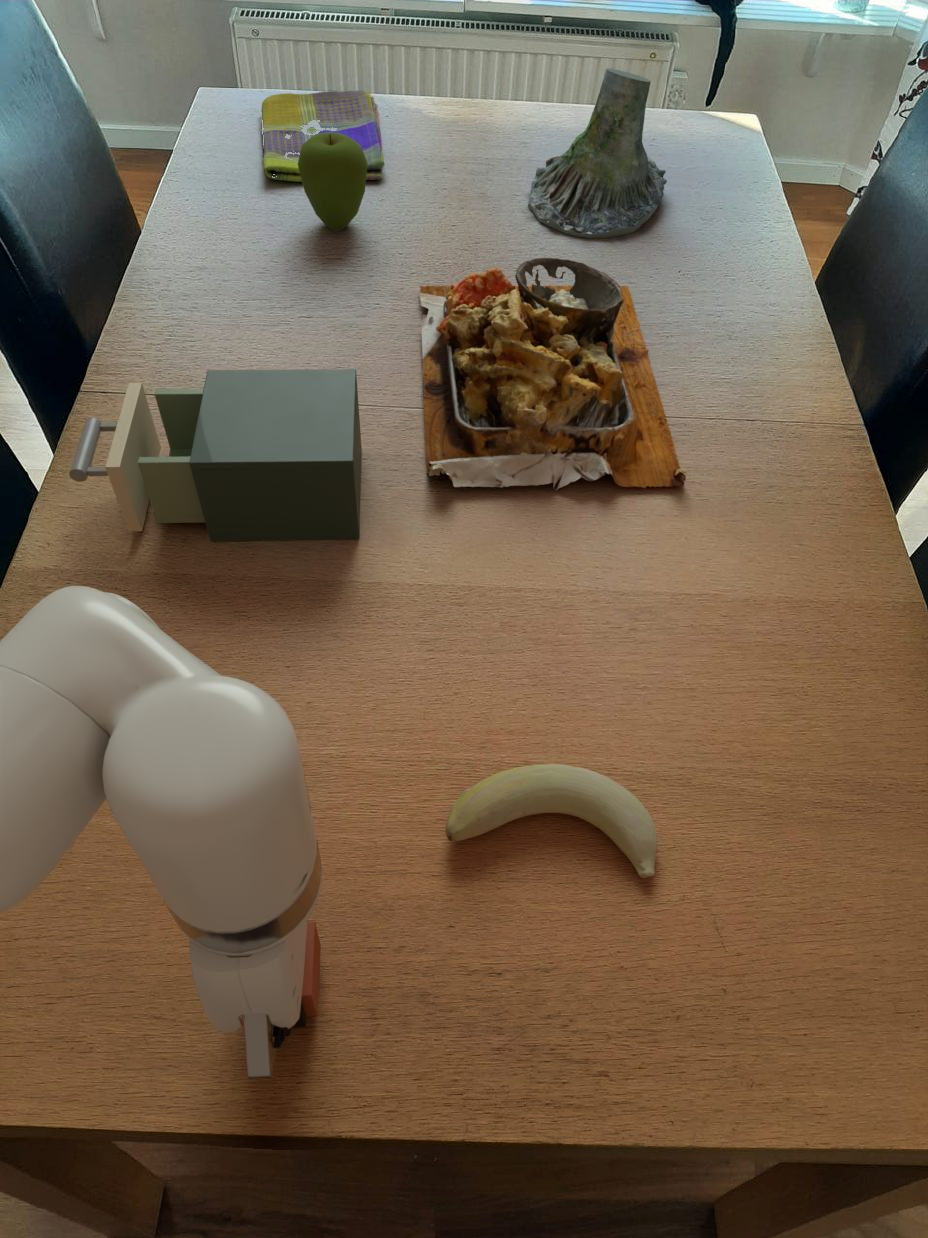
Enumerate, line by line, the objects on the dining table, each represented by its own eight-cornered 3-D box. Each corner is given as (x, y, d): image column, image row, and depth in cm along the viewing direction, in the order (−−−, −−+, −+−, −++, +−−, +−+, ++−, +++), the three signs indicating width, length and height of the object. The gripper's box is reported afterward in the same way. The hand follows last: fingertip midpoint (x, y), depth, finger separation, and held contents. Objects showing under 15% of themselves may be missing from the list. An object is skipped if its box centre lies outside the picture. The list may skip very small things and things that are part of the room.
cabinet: (210, 541, 83) (188, 462, 75) (225, 449, 90) (207, 369, 83) (359, 539, 83) (353, 461, 76) (361, 448, 91) (356, 368, 84)
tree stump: (494, 208, 123) (519, 55, 112) (573, 193, 136) (603, 55, 125) (606, 250, 115) (645, 91, 104) (679, 230, 128) (720, 87, 117)
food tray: (418, 291, 109) (418, 204, 101) (627, 291, 110) (643, 205, 102) (427, 494, 87) (427, 405, 79) (686, 490, 89) (713, 403, 80)
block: (245, 1019, 57) (234, 999, 53) (252, 947, 60) (242, 923, 56) (317, 1016, 57) (311, 996, 54) (320, 944, 60) (315, 921, 56)
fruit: (459, 762, 69) (460, 740, 67) (655, 792, 68) (664, 771, 66) (443, 849, 65) (443, 829, 62) (652, 883, 64) (662, 864, 61)
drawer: (80, 532, 82) (52, 467, 75) (104, 447, 89) (81, 382, 82) (268, 529, 83) (255, 465, 76) (277, 446, 90) (266, 381, 83)
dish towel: (259, 185, 124) (256, 164, 121) (262, 107, 138) (260, 88, 136) (387, 182, 125) (386, 162, 123) (377, 106, 140) (376, 86, 138)
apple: (383, 228, 118) (380, 136, 109) (330, 249, 114) (322, 156, 105) (344, 201, 122) (338, 110, 113) (291, 220, 118) (280, 128, 109)
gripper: (186, 720, 49) (237, 857, 63) (133, 1061, 38) (209, 1132, 53) (327, 717, 49) (345, 854, 64) (311, 1053, 39) (338, 1125, 53)
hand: (283, 979), depth 58 cm, fingers closed on block, 4 cm apart
